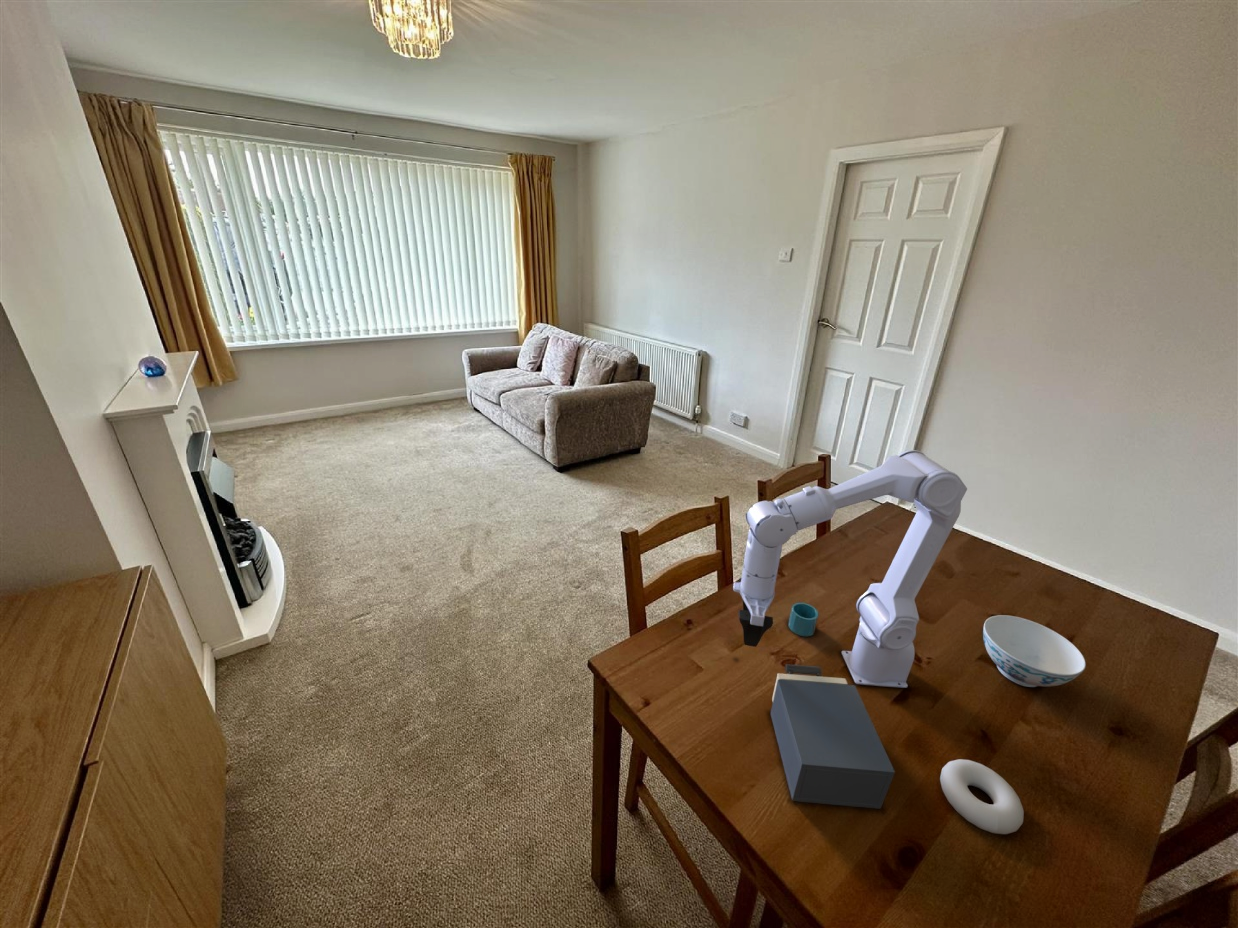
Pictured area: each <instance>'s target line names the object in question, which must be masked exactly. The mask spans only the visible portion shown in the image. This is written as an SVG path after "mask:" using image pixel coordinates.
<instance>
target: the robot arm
mask: <svg viewBox="0 0 1238 928" xmlns="http://www.w3.org/2000/svg"><path fill="white" fill-rule="evenodd" d="M967 491H968V487H967V486H966V485H965V483H964V482H963V480H962V479H961V477H960V476H959V475H958V474H956V473H955V472H953V471H950V470H949V469H947V468H945V467H944V466H943V465H941V464H939V463H938V462H936V461H935V460H932V459H931V458H929V457H928V456H927V455H926V454H925V453H923V452H922V451H920V450H917V449H908V450H904V451H903V452H900V453H899V454H895V455H890V456H889V457H887V458H886V460H885V461H884V462H883V463H882V464H881V465H880V466H877V467H875V468H873V469H870V470H867V471H866V472H864V473H862V474H859V475H856V476H855V477H852V478H850V479H848V480H845V481H843V482H841V483H839V484H836V485H834V486H832V487H830V488H828V489H827V488H825V487H824V488H823V487H821V486H817V485H815V486H813V487H811V486H810V485H808V486H806V487H803V488H802V491H799V492H796V493H793V494H791V495H788V496H785V497H783V498H776V499H774V501H772V500H762V501H758V502H756V503H754V504H753V505H752V506H751V507H750V508H749V509H748V511H747V512H745V521H746V522H747V524H748V526H750V528H749V529H748V533H747V534H748V535H747V540H746V546H745V553H744V559H743V565H742V572H741V577H739V579H738V582H736V581H735V582H733V586H732V589H733V592H734V593H737V594H739V595H740V596H741V599H742V609H738V619H739V623H740V625H741V627H742V632H743V633H742V634H743V635H742V636H743V643H744V645H745V646H749V647H754V648H756V647H757V646H758V645H759V643H760V641H761V640H762V638H763V636H764V634H765V633H766V632H767V631H768V630H770V629H771V628H772V627H773V625H774V618H773V616H768V615H766V613H767V611H768V609H769V607H770V606H771V604H772V602H773V601H774V598H775V593H776V592H775V588H776V583H777V578H778V577H777V576H778V572H779V568H780V567H779V565H780V562H781V561H780V560H781V556H782V551H783V545H785V544H786V543H788V541H789V540H790V539H791V538H792V536H794V535H797V533H798V532H799V531H802V530H804V529H807V528H809V527H814V526H816V525H819V524H821V523H823V522H827V521H829V520H832V519H833V517H834V515H835V512H836V511H837V510H839V509H842V508H847V507H849V506H853V505H856V504H859V503H862V502H866V501H869V500H873V499H876V498H880V497H885V496H890V497H893V498H896V499H899V500H901V501H905V502H908V503H911V504H914V506H915V507H916V509H917V511H916V513H915V515H914V516H913V519H912V521H911V523H910V525H909V527H908V528H907V531H906V533H905V535H904V537H903V539H902V541H901V543H900V544H899V547H898V549H897V552H896V554H895V555H894V557H893V559H892V562H891V564H890V566H889V567H888V570H887V572H886V573H885V575H884V577H883V580H882V582H875V583H871V584H870V585H869V587H868V588H867V590H866V591H865V592H864V593H863V594H861V596H859V598H858V599H857V601H856V605H855V607H856V610H857V613H858V614H860V616H859V620H858V621H859V626H858V629H857V633H856V636H855V640H854V643H853V646H852V648H851V649H852V650H842V651H840V652H841V655H842V658H843V660H844V662H845V664H846V666H847V669H848V671H849V673H850V675H851V677H852V679H853V682H854V683H855V684H856V685H860V686H861V685H862V686H873V687H874V686H876V687H887V688H902V689H907V688H908V686H909V685H908V683H907V681H908V677H909V675H910V672H911V670H912V666H913V663H914V660H915V655H916V654H915V653H916V652H915V644H914V641H915V638H916V637H917V625H918V623H919V622H920V615H919V612H918V609H917V605H916V597H917V596H918V593H919V592H920V590H921V588H922V586H923V584H924V582H925V580H926V578H927V577H928V575H929V573H930V571H931V569H932V568H933V565H934V563H935V562H936V560H937V558H938V556H939V554H940V552H941V551H942V549H943V547H944V545H945V543H946V541H947V539H948V538H949V536H950V534H951V532H952V530H953V528H954V526H955V525H956V523H957V521H958V519H959V517H960V515H961V511H962V500H963V499H964V497H965V495H966V493H967Z"/></svg>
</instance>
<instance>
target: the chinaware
mask: <svg viewBox="0 0 1238 928" xmlns="http://www.w3.org/2000/svg"><path fill="white" fill-rule="evenodd" d="M982 638H983V639H982V640H983V644H984V647H985V649H986V652H987V654H988V655H989V657H990V658H991V660H992V661H993V663H994V664H995V665H996V668H997V669H998V671H999V672H1000V673H1001V674H1002V675H1003V676H1004V677H1005V678H1007V679H1008V680H1009V681H1011V682H1012V683H1015V684H1017V685H1020V686H1023V687H1028V688H1036V687H1056V686H1062V685H1064V684H1067V683H1069V682H1071V681H1073V680H1075V679H1076V678H1077V677H1079V676H1080V675H1081V674H1082V673H1083V672H1084V671H1085V669H1086V666H1087V665H1086V663H1087V662H1086V659H1085V657H1084V655H1083V654H1082V653H1081V651H1080V649H1078V648H1077V647H1076V646H1075V645H1074V644H1073V643H1072V642H1071V641H1070V640H1068V639H1067V638H1066V637H1065V636H1063V635H1061V634H1059V633H1058V632H1056V631H1055V630H1053V629H1051V628H1049V627H1047V626H1045V625H1043V624H1040V623H1038V622H1036V621H1032V620H1030V619H1027V618H1024V617H1019V616H1016V615H1015V616H1014V615H1008V614H1007V615H1005V614H1003V615H1002V614H999V615H993V616H990V617H988V618H987V619H986V620H985V621H984V624H983V630H982Z"/></svg>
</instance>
